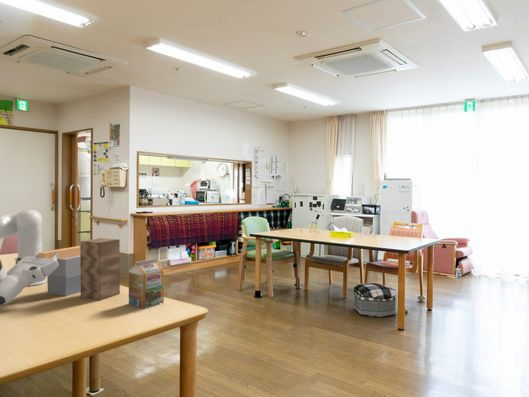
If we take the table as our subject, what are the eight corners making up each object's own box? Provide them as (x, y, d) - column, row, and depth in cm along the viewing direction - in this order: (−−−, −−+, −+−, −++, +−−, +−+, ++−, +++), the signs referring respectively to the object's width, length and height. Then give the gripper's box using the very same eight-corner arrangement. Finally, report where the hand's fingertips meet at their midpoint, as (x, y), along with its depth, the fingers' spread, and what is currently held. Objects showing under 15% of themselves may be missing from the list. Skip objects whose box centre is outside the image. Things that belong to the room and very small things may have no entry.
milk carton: (149, 298, 183) (149, 257, 182) (163, 303, 176) (163, 260, 176) (128, 303, 175) (128, 260, 174) (142, 308, 168) (142, 263, 167)
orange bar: (38, 261, 182) (38, 252, 182) (81, 253, 204) (81, 245, 204) (45, 261, 181) (45, 253, 181) (87, 254, 203) (87, 246, 203)
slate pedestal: (47, 293, 191) (47, 258, 191) (68, 287, 202) (68, 254, 202) (66, 296, 187) (65, 259, 186) (86, 290, 198) (86, 255, 197)
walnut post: (80, 297, 184) (80, 241, 184) (100, 291, 196) (100, 238, 195) (100, 300, 180) (100, 242, 179) (119, 293, 191) (119, 239, 190)
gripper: (13, 277, 180) (37, 257, 191) (46, 281, 172) (69, 260, 183) (6, 266, 177) (31, 246, 188) (39, 269, 169) (63, 249, 180)
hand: (50, 253), depth 185 cm, fingers open, 8 cm apart
